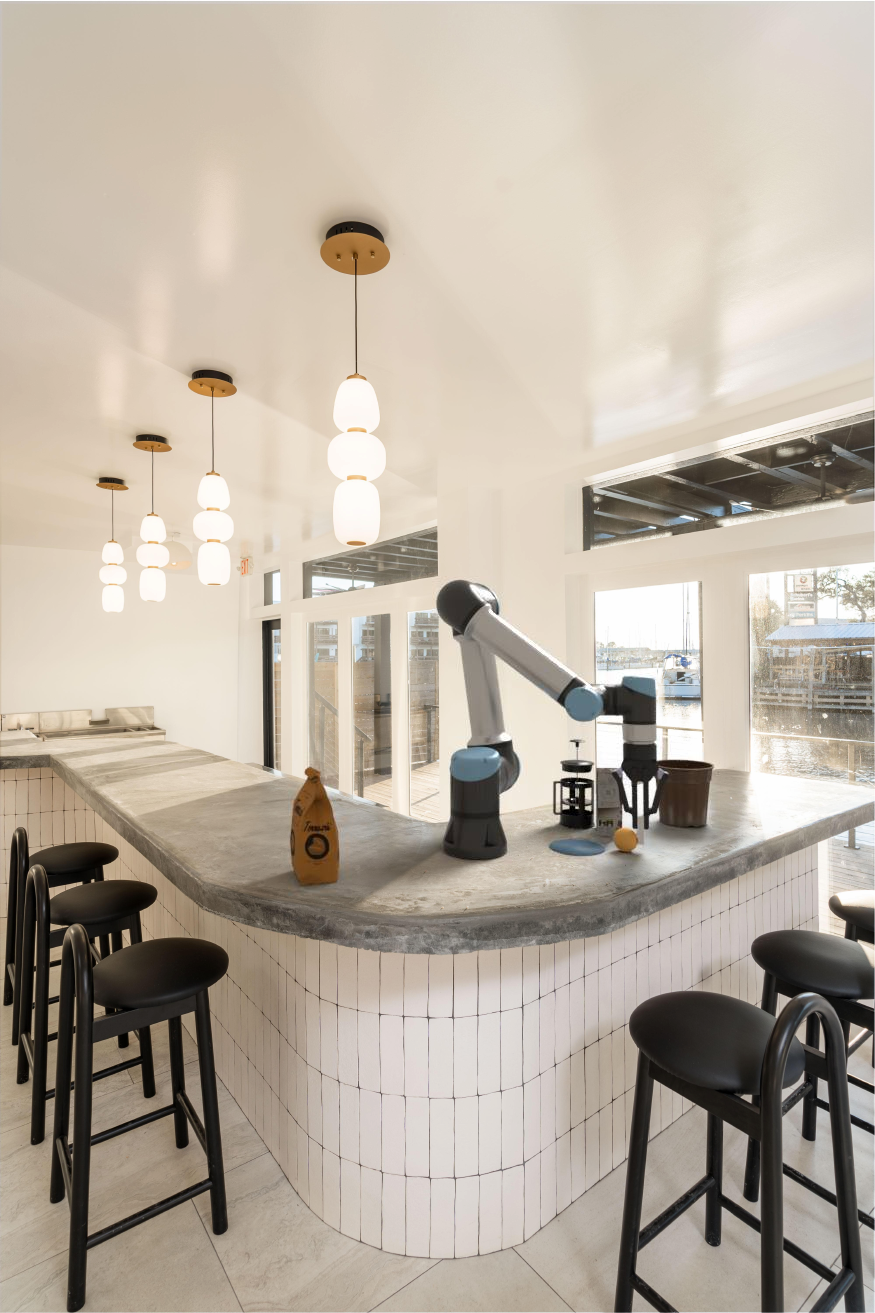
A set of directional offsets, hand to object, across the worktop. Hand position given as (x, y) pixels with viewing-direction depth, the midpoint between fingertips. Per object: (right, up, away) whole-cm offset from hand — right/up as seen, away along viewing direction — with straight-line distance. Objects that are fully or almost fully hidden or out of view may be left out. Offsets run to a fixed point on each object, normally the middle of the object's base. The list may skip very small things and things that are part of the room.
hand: (640, 842), depth 155 cm
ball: (-3, 0, +1) cm, 3 cm away
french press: (-10, -2, +25) cm, 27 cm away
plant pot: (+20, -2, +28) cm, 34 cm away
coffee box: (-3, -2, +18) cm, 18 cm away
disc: (-14, -2, +4) cm, 15 cm away
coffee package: (-73, -3, -17) cm, 75 cm away
